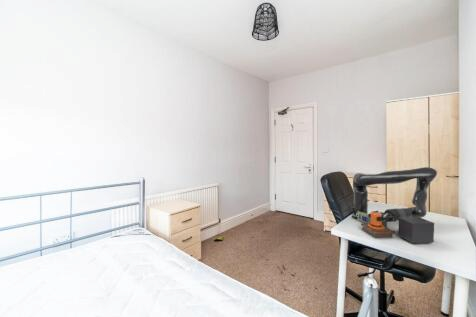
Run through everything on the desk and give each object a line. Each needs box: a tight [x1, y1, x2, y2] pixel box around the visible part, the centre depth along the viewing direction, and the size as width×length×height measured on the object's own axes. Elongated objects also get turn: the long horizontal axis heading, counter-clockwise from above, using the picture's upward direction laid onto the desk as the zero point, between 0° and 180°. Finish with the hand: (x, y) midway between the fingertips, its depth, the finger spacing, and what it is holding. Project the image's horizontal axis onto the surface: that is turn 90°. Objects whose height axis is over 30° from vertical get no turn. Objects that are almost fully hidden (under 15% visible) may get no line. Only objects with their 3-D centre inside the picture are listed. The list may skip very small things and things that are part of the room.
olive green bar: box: [351, 211, 388, 228], centre depth 150 cm, size 7×3×25 cm
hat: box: [368, 211, 385, 229], centre depth 135 cm, size 9×9×8 cm
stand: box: [360, 222, 395, 239], centre depth 134 cm, size 14×12×4 cm
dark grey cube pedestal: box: [398, 217, 435, 245], centre depth 123 cm, size 10×12×12 cm
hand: (372, 217), depth 134 cm, fingers closed on hat, 6 cm apart
